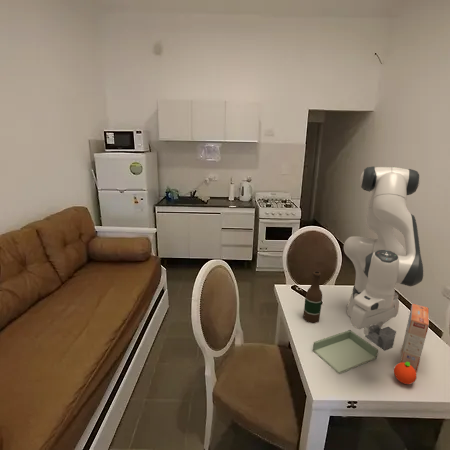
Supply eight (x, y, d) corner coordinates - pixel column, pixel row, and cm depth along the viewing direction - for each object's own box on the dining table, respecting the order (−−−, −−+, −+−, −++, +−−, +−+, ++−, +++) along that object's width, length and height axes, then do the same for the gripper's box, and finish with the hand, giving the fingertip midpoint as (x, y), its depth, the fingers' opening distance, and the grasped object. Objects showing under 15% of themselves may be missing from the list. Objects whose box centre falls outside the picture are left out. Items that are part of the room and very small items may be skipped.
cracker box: (417, 374, 114) (429, 324, 109) (399, 367, 117) (409, 319, 112) (418, 352, 126) (429, 307, 120) (401, 347, 129) (411, 302, 123)
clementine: (395, 369, 116) (398, 353, 114) (416, 378, 112) (420, 362, 110) (390, 381, 110) (393, 365, 108) (412, 392, 106) (416, 374, 104)
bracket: (364, 336, 111) (368, 321, 109) (372, 334, 113) (375, 318, 111) (384, 350, 104) (388, 334, 102) (392, 347, 106) (396, 331, 104)
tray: (348, 337, 134) (350, 329, 133) (376, 358, 122) (378, 349, 121) (312, 350, 125) (313, 342, 124) (338, 373, 113) (340, 364, 112)
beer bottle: (308, 312, 153) (313, 267, 146) (322, 319, 147) (329, 272, 141) (299, 318, 147) (304, 271, 141) (314, 325, 142) (320, 277, 135)
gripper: (390, 287, 114) (384, 320, 118) (350, 299, 105) (344, 334, 109) (406, 295, 108) (399, 329, 112) (365, 308, 100) (359, 344, 104)
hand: (372, 332), depth 111 cm, fingers closed on bracket, 4 cm apart
